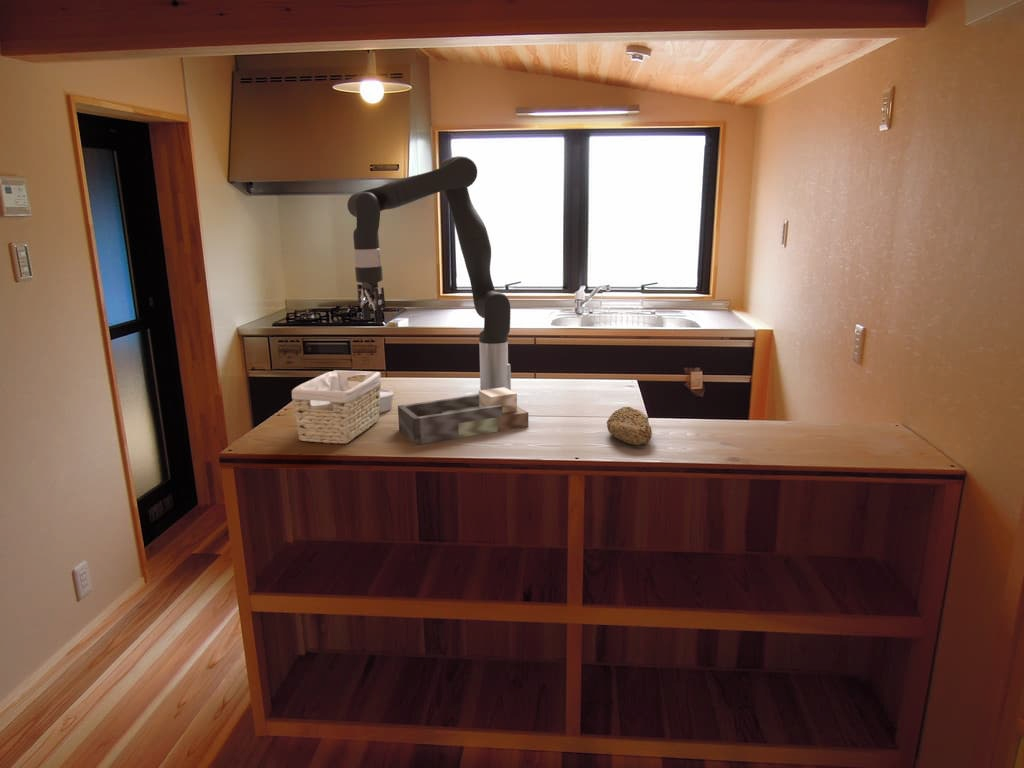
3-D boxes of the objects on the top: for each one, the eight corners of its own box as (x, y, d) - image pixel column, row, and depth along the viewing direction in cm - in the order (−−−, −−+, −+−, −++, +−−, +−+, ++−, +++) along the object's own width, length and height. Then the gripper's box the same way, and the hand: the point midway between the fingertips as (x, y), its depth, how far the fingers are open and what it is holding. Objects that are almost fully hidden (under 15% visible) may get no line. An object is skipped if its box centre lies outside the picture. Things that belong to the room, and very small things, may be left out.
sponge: (611, 429, 193) (594, 436, 175) (618, 402, 192) (602, 406, 174) (657, 442, 189) (644, 451, 170) (664, 415, 188) (652, 421, 169)
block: (504, 403, 200) (504, 387, 199) (517, 410, 193) (516, 393, 192) (479, 407, 196) (478, 390, 195) (491, 414, 190) (490, 397, 188)
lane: (506, 413, 204) (505, 390, 203) (528, 426, 192) (528, 402, 190) (399, 430, 190) (397, 405, 188) (415, 445, 178) (414, 419, 176)
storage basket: (334, 417, 203) (330, 368, 199) (386, 420, 200) (383, 370, 196) (293, 443, 181) (287, 389, 177) (350, 447, 177) (346, 392, 173)
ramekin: (398, 404, 215) (397, 388, 214) (388, 415, 204) (387, 398, 203) (363, 404, 216) (362, 388, 215) (352, 414, 205) (351, 397, 204)
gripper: (390, 265, 192) (394, 322, 196) (370, 262, 204) (375, 316, 208) (365, 267, 188) (370, 326, 192) (346, 264, 200) (351, 319, 204)
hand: (372, 321), depth 200 cm, fingers open, 8 cm apart
